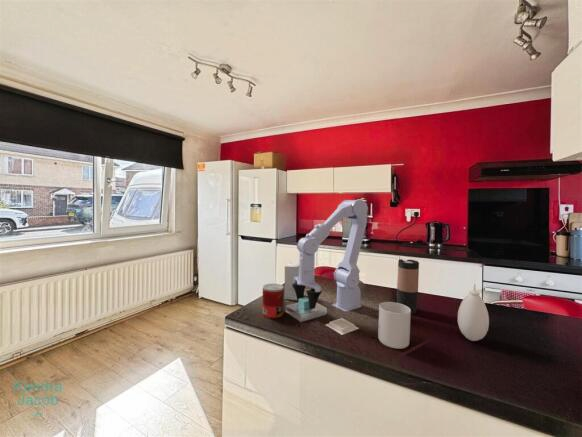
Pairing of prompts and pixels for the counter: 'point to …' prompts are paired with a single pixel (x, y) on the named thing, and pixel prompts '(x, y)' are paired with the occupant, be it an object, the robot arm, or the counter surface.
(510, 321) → the counter surface
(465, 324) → the sauce bottle
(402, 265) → the travel mug
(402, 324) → the mug
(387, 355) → the counter surface
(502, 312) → the counter surface
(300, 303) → the plug
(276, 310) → the canned food
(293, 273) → the skincare box
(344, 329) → the white square dish
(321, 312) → the port panel
